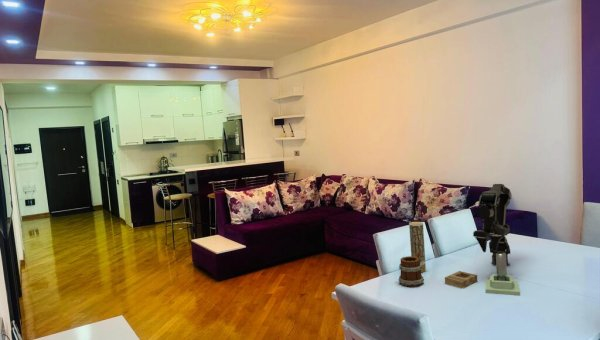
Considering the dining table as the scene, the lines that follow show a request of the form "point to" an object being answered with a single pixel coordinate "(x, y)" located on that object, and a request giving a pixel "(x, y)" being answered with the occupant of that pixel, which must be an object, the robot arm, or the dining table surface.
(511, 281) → the socket stand
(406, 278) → the mug
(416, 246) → the bark textured cylinder
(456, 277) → the wooden rectangular frame
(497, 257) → the grey glass peg
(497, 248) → the robot arm
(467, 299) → the dining table surface
